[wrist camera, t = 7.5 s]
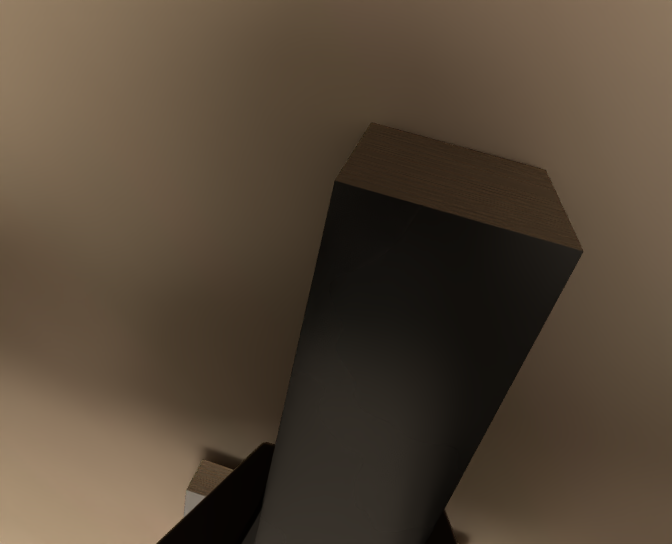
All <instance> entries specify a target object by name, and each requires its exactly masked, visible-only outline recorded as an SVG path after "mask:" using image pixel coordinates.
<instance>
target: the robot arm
mask: <svg viewBox="0 0 672 544" xmlns="http://www.w3.org/2000/svg"><path fill="white" fill-rule="evenodd" d="M274 449H275V444H272V443H269V442H264V443H262V444H261V445H259V446H258V447H257V448H256V449H255V450H254V451H253V452H252V453H251V454H250V455H249V456H248V457H247V458H246V459H245V460H244V461H243V462H242V463H241V464H239V465H238V466H237V467H236V468H235V469H234V470H233V471H232V472H231V473H230V474H229V475H228V476H227V477H226V478H225V479H224V480H223V481H222V482H221V483H219V484H218V485H217V486H216V487H215V488H214V489H213V490H212V491H211V492H210V493H209V494H208V495H207V496H206V497H205V498H204V499H203V500H202V501H201V502H200V503H198V504H197V505H196V506H195V507H194V508H193V509H192V510H191V511H190V512H189V513H188V514H187V515H186V516H185V517H184V518H183V519H182V520H181V521H180V522H178V523H177V524H176V525H175V526H174V527H173V528H172V529H171V530H170V531H169V532H168V533H167V534H166V535H165V536H164V537H163V538H162V539H161V540H160V541H158V542H157V543H156V544H254V543H255V538H256V534H257V530H258V525H259V521H260V517H261V512H262V508H263V506H262V502H263V497H264V493H265V488H266V484H267V480H268V475H269V471H270V466H271V462H272V457H273V453H274ZM426 544H457V541H456V538H455V536H454V533H453V530H452V528H451V525H450V522H449V520H448V517H447V514H446V512H445V509H444V510H443V512H442V514H441V516H440V518H439V520H438V522H437V523H436V525H435V527H434V529H433V531H432V533H431V535H430V536H429V538H428V540H427V542H426Z"/></svg>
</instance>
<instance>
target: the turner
mask: <svg viewBox="0 0 672 544" xmlns="http://www.w3.org/2000/svg"><path fill="white" fill-rule="evenodd" d="M582 253H583V249H582V247H581V245H580V243H579V240H578V238H577V236H576V234H575V232H574V230H573V228H572V225H571V223H570V221H569V219H568V217H567V215H566V213H565V210H564V208H563V206H562V204H561V202H560V200H559V198H558V195H557V193H556V191H555V189H554V187H553V185H552V182H551V180H550V178H549V176H548V174H547V172H546V170H543V169H540V168H536V167H532V166H529V165H525V164H521V163H518V162H514V161H510V160H507V159H503V158H500V157H496V156H492V155H489V154H485V153H481V152H478V151H474V150H470V149H467V148H463V147H459V146H456V145H452V144H449V143H445V142H441V141H438V140H434V139H430V138H427V137H423V136H419V135H416V134H412V133H408V132H405V131H401V130H398V129H394V128H390V127H387V126H383V125H379V124H376V123H372V122H371V124H370V125H369V127H368V128H367V130H366V132H365V133H364V135H363V136H362V138H361V140H360V141H359V143H358V144H357V146H356V148H355V149H354V151H353V152H352V154H351V156H350V157H349V159H348V160H347V162H346V164H345V165H344V167H343V168H342V170H341V172H340V173H339V175H338V176H337V178H336V180H335V182H334V187H333V191H332V196H331V200H330V205H329V209H328V213H327V218H326V222H325V227H324V231H323V236H322V240H321V245H320V249H319V253H318V258H317V262H316V267H315V271H314V276H313V280H312V284H311V289H310V293H309V298H308V302H307V307H306V311H305V315H304V320H303V324H302V329H301V333H300V338H299V342H298V347H297V351H296V355H295V360H294V364H293V369H292V373H291V378H290V382H289V386H288V391H287V395H286V400H285V404H284V409H283V413H282V417H281V422H280V426H279V431H278V435H277V440H276V444H275V449H274V453H273V457H272V462H271V466H270V471H269V475H268V480H267V484H266V488H265V493H264V497H263V502H262V506H263V508H262V512H261V517H260V521H259V525H258V530H257V534H256V538H255V543H254V544H426V542H427V540H428V538H429V536H430V535H431V533H432V531H433V529H434V527H435V525H436V523H437V522H438V520H439V518H440V516H441V514H442V512H443V510H444V509H445V507H446V505H447V503H448V501H449V499H450V497H451V496H452V494H453V492H454V490H455V488H456V486H457V485H458V483H459V481H460V479H461V477H462V475H463V473H464V472H465V470H466V468H467V466H468V464H469V462H470V460H471V459H472V457H473V455H474V453H475V451H476V449H477V448H478V446H479V444H480V442H481V440H482V438H483V436H484V435H485V433H486V431H487V429H488V427H489V425H490V423H491V422H492V420H493V418H494V416H495V414H496V412H497V411H498V409H499V407H500V405H501V403H502V401H503V399H504V398H505V396H506V394H507V392H508V390H509V388H510V386H511V385H512V383H513V381H514V379H515V377H516V375H517V373H518V372H519V370H520V368H521V366H522V364H523V362H524V361H525V359H526V357H527V355H528V353H529V351H530V349H531V348H532V346H533V344H534V342H535V340H536V338H537V336H538V335H539V333H540V331H541V329H542V327H543V325H544V324H545V322H546V320H547V318H548V316H549V314H550V312H551V311H552V309H553V307H554V305H555V303H556V301H557V299H558V298H559V296H560V294H561V292H562V290H563V288H564V286H565V285H566V283H567V281H568V279H569V277H570V275H571V274H572V272H573V270H574V268H575V266H576V264H577V262H578V261H579V259H580V257H581V255H582ZM233 470H234V469H231V468H228V467H225V466H222V465H219V464H216V463H213V462H210V461H207V460H204V459H203V460H202V462H201V464H200V465H199V467H198V469H197V471H196V473H195V475H194V477H193V478H192V480H191V482H190V484H189V486H188V488H187V490H186V498H185V509H184V517H185V516H186V515H187V514H188V513H189V512H190V511H191V510H192V509H193V508H194V507H195V506H196V505H197V504H198V503H200V502H201V501H202V500H203V499H204V498H205V497H206V496H207V495H208V494H209V493H210V492H211V491H212V490H213V489H214V488H215V487H216V486H217V485H218V484H219V483H221V482H222V481H223V480H224V479H225V478H226V477H227V476H228V475H229V474H230V473H231V472H232V471H233ZM457 544H459V543H457Z"/></svg>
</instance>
